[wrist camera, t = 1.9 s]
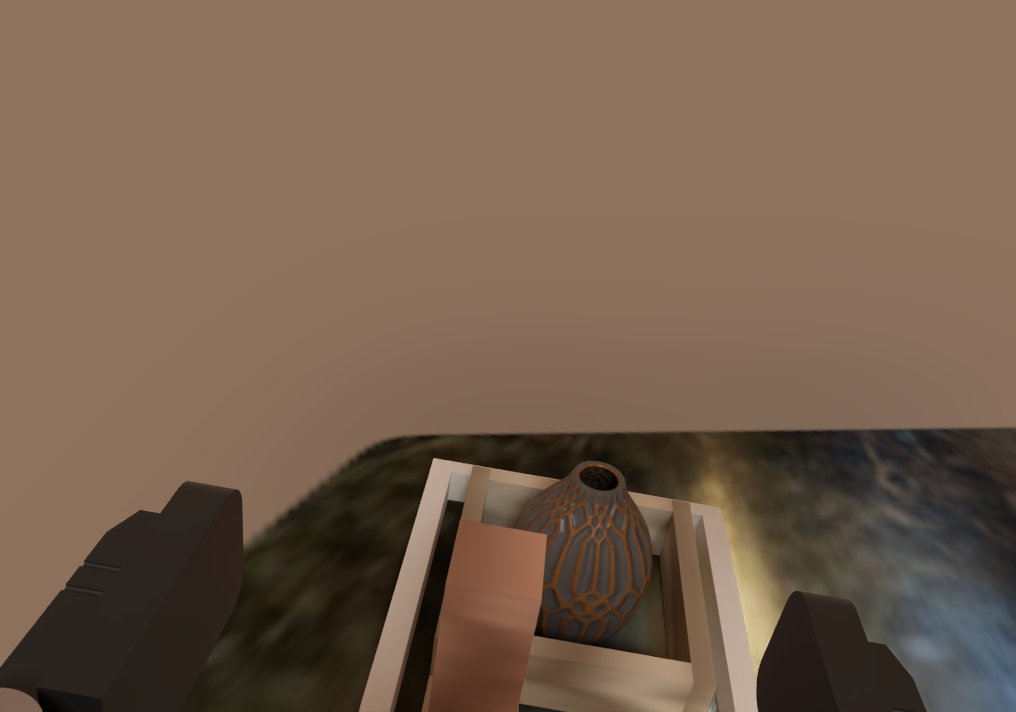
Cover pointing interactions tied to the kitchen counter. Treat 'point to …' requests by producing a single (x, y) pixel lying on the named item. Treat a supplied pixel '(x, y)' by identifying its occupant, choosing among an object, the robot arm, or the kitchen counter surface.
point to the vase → (589, 554)
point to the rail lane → (454, 479)
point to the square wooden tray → (515, 607)
